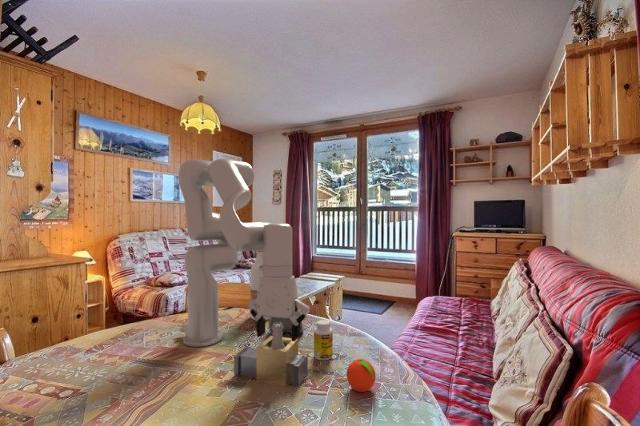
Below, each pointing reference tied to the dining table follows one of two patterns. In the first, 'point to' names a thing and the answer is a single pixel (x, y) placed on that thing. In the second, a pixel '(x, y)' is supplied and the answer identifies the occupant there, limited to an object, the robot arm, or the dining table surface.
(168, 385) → the dining table surface
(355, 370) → the clementine
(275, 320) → the pipe fitting
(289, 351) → the valve body
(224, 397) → the dining table surface
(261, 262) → the fruit juice
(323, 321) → the supplement bottle
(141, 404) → the dining table surface
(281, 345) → the rook chess piece
